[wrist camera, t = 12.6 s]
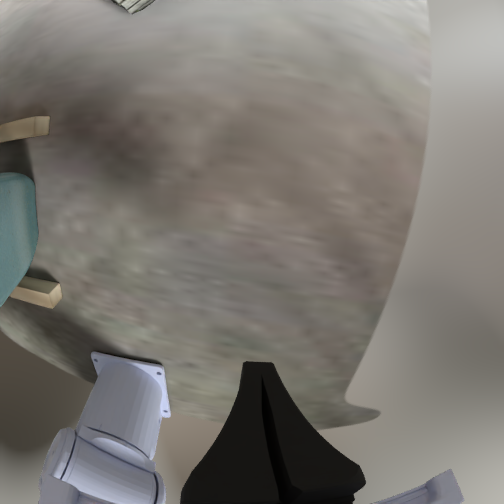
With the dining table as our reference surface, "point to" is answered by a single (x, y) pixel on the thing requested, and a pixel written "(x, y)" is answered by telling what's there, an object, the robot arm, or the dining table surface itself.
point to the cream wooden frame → (28, 286)
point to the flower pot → (16, 230)
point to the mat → (133, 4)
